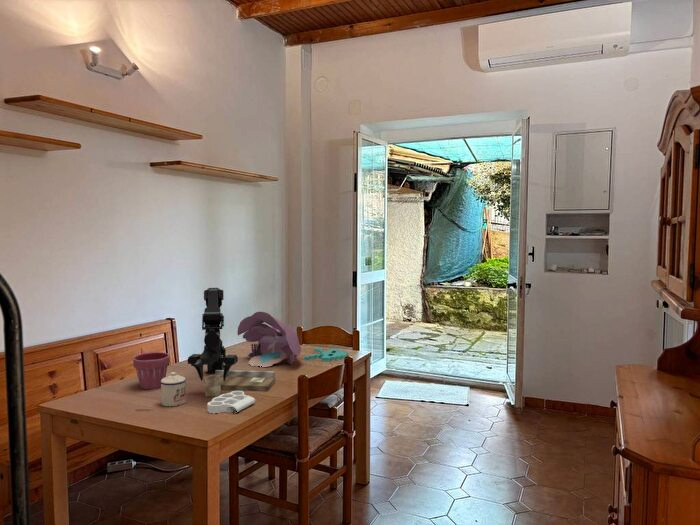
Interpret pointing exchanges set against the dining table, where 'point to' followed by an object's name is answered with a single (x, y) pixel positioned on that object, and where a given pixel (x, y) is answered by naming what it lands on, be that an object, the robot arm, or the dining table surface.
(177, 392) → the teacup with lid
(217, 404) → the white muffin tray
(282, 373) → the dining table surface
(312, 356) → the alien figure
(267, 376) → the walnut board
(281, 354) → the mauve curved piece
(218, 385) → the block
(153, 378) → the plant pot
